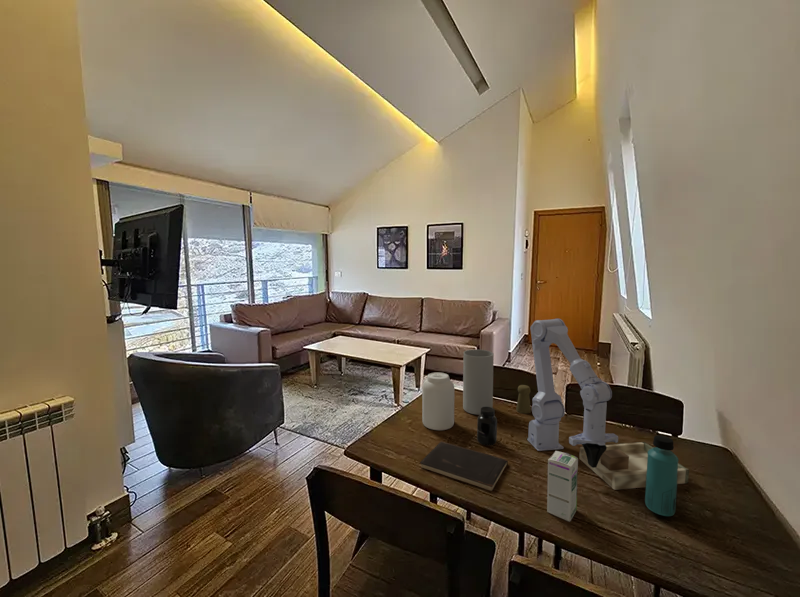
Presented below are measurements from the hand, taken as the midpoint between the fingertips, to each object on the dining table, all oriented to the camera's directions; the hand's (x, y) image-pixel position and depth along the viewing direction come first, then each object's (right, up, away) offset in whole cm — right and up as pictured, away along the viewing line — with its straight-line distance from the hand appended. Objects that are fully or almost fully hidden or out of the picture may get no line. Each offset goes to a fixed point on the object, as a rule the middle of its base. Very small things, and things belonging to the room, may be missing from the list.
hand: (592, 465), depth 108 cm
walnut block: (+7, -1, +1) cm, 7 cm away
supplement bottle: (-27, -1, +20) cm, 34 cm away
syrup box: (-16, -5, -16) cm, 23 cm away
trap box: (+12, -2, +2) cm, 12 cm away
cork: (-5, +2, +46) cm, 46 cm away
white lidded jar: (-43, 0, +34) cm, 55 cm away
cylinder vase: (-24, +2, +47) cm, 53 cm away
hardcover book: (-38, -3, +5) cm, 38 cm away
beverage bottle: (+8, -4, -17) cm, 19 cm away
